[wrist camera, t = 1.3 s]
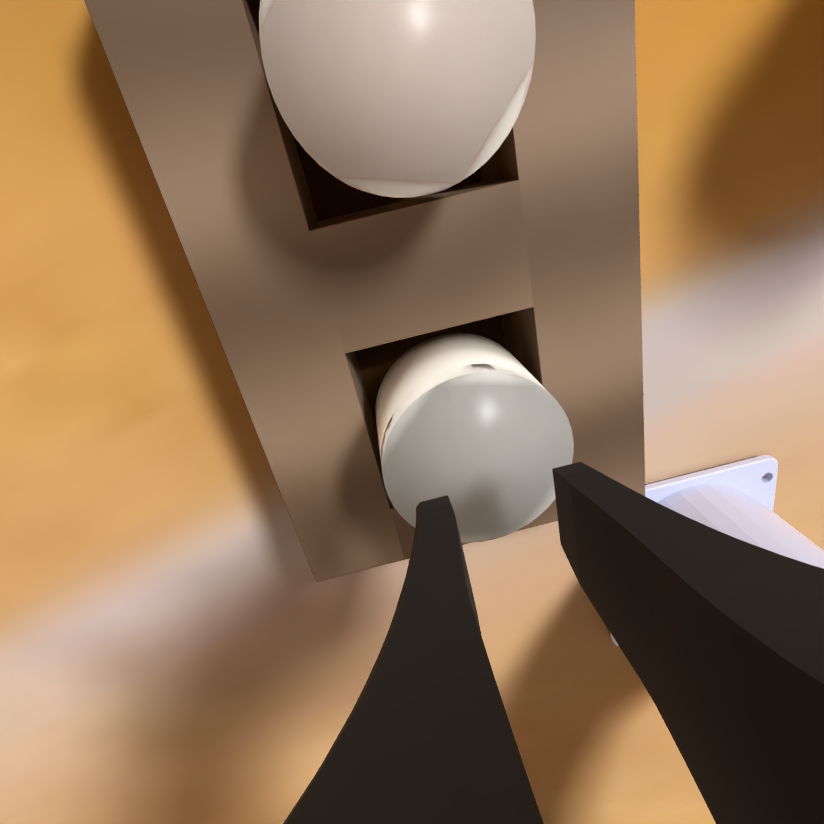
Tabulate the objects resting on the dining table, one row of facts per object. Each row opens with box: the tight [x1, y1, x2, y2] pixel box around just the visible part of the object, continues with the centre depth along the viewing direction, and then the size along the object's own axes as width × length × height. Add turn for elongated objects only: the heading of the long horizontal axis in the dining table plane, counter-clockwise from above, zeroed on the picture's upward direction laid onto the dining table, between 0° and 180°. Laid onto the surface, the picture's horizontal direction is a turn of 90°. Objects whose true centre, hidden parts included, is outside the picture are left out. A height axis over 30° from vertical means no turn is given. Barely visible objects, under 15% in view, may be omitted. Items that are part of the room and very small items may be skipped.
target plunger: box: [259, 0, 536, 198], centre depth 11 cm, size 5×5×4 cm
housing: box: [84, 0, 645, 582], centre depth 16 cm, size 19×12×4 cm, turn 12°
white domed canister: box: [375, 333, 574, 543], centre depth 14 cm, size 5×5×4 cm
